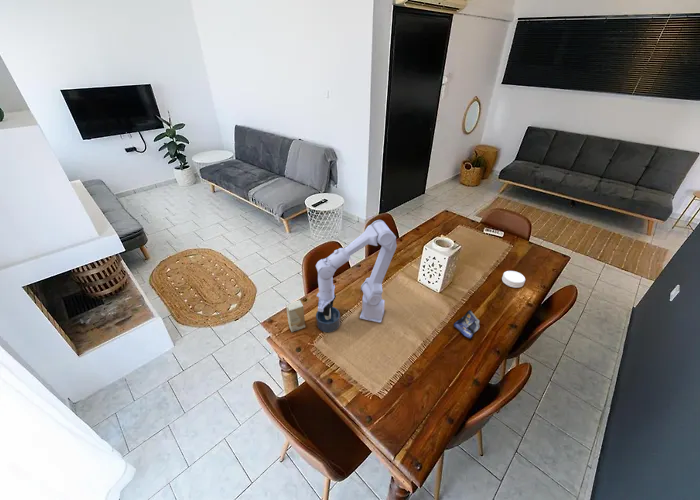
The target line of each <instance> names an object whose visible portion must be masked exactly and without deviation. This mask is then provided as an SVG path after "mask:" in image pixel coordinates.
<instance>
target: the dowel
mask: <svg viewBox="0 0 700 500" xmlns="http://www.w3.org/2000/svg"><path fill="white" fill-rule="evenodd" d="M329 304H330V303H329ZM325 319H326V320H329V319H331V308H330V313H329V316H325Z"/></svg>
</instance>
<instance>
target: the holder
mask: <svg viewBox="0 0 700 500" xmlns="http://www.w3.org/2000/svg"><path fill="white" fill-rule="evenodd" d="M315 323H316V327H317V328H318V330H320V331H322V332H323V333H332V332H335V331H337V330H338V329H339V328H340V325H341V313H340V311H339V309H338V308H337V307H334V306H332V310H331V319H329V320H326V319H325V315H324V314H323V312H319V311H318V310H316V313H315Z"/></svg>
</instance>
